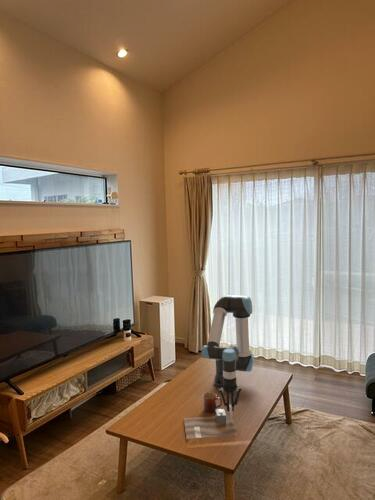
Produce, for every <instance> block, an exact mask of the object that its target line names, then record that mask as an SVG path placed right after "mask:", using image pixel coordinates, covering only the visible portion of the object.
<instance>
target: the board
mask: <svg viewBox="0 0 375 500" xmlns="http://www.w3.org/2000/svg"><path fill="white" fill-rule="evenodd" d="M183 423H184V430H185V438H186V439H185V440H186V442H189V439H190V440H192V439H205V438H214V437H230V436H238V435H239V432H238V429H237V426H236V424H235V422H234V418H233V417H232V418H230V417H229V414H228V415H227V414H226V424H217V421H216V415H214V416H212V415H211V416H201V417H199V416H198V417H186V418H185V417H184V418H183Z"/></svg>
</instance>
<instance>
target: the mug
mask: <svg viewBox="0 0 375 500" xmlns="http://www.w3.org/2000/svg"><path fill="white" fill-rule="evenodd" d="M202 399H203V411H204V412H206V413H208V414H213V413H216V412H215V409H219V408H220V407H221V406H222V404H223V399H222V397H220V396H218V394H217V393H215V392H213V391H206V392H203V394H202ZM217 400H220V403H219V404H218V405H217Z"/></svg>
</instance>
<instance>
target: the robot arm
mask: <svg viewBox="0 0 375 500" xmlns="http://www.w3.org/2000/svg"><path fill="white" fill-rule="evenodd" d="M212 314H213V317H212V320H211V321H212V322H211V326H210V329H209V334H208V338H207V343H206V345H202V347H201V357H202V358H204V359H208V360H215V375H214V377H213V378H214V379H213V385H214V386H215V387H217V388H218V391H219V393H220V395H221V399H222V404H223V405H224V407H226V411H227V412H228V415H229V417H230V418H233V412H234V411H235V406H237V405H238V402H239V397H240V393H241V391H242V388H241V387H240V386H238V385H237V372H244V373H246V372H248V373H251V372H252V371H253V368H254V367H253V366H254V361H255V355H254V354H252V350H251V349H250V340H249V338H250V337H249V335H250V334H249V318H250V317H251V314H253V301H252V298H251V297H250V296H247V295H224V296H222V297H220V298H219V299H218V300H217V301H216V303H215V305H214V307H213V311H212ZM228 314H232V317H234V319H235V321H234V322H235V341H236V342H235V343H236V344H235V345H233V344H232V345H230V346H220V345H221V341H222V340H221V339H222V334H223V329H224V325H225V319H226V317H227V315H228ZM224 391H225V394H226V399H225V395H224ZM235 391H236V392H235ZM234 395H235V396H234Z"/></svg>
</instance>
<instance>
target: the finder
mask: <svg viewBox="0 0 375 500" xmlns="http://www.w3.org/2000/svg"><path fill="white" fill-rule="evenodd" d="M214 413H215V416H216V421H217V424H226V415H227V414H226V411H225V408H216V409H215V412H214Z"/></svg>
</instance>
